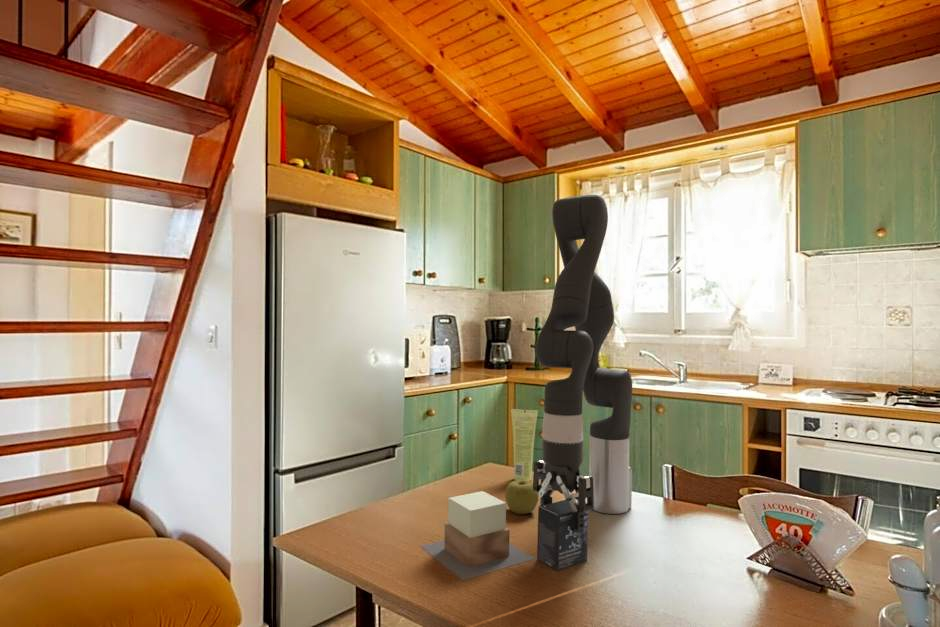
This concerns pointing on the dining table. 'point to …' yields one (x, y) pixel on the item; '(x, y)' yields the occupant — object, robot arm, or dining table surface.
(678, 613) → the dining table surface
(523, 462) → the tube
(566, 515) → the box
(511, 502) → the apple
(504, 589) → the dining table surface
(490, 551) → the block base
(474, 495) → the block top
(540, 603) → the dining table surface
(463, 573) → the mat
